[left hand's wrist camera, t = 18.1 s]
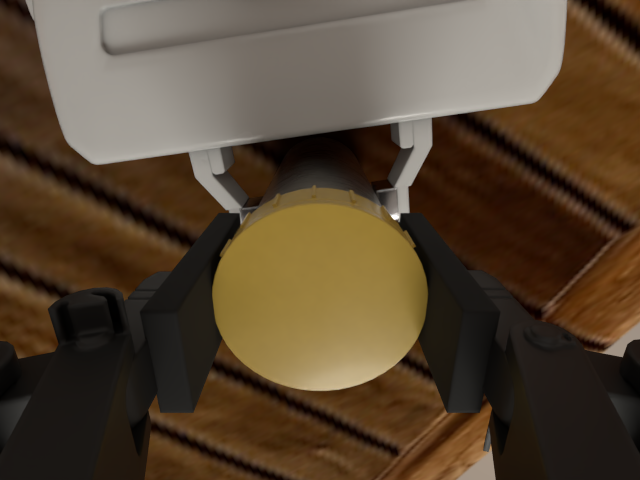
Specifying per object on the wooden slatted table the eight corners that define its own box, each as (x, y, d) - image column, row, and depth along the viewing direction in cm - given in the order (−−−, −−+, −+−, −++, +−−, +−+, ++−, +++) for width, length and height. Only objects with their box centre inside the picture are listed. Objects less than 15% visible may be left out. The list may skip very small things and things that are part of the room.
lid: (358, 382, 13) (363, 418, 12) (194, 315, 12) (177, 346, 11) (456, 241, 11) (476, 264, 10) (270, 147, 10) (262, 157, 9)
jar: (279, 218, 26) (231, 370, 12) (277, 135, 24) (217, 203, 10) (359, 220, 26) (404, 372, 12) (364, 137, 24) (426, 207, 10)
